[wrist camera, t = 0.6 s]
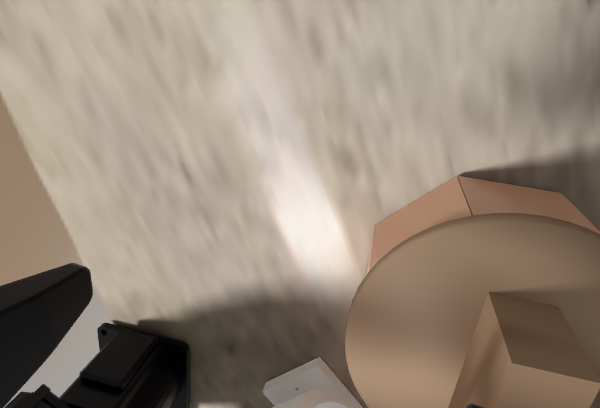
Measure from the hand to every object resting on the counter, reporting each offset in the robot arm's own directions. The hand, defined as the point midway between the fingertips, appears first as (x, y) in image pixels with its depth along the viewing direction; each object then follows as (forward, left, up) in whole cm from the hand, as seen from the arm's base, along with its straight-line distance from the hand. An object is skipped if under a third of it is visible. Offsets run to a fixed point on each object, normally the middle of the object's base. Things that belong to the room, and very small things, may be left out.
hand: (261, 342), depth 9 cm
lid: (-5, -8, -8) cm, 12 cm away
